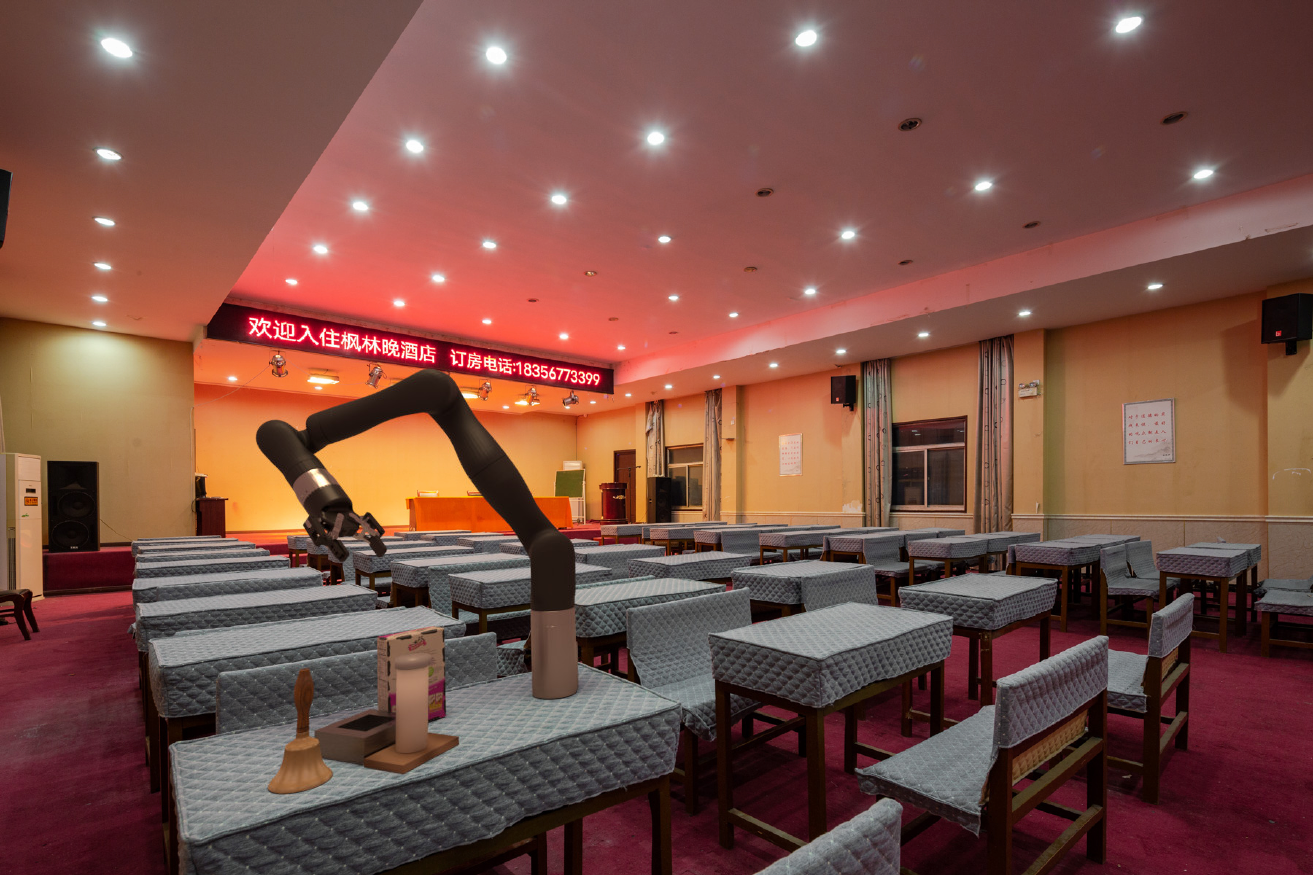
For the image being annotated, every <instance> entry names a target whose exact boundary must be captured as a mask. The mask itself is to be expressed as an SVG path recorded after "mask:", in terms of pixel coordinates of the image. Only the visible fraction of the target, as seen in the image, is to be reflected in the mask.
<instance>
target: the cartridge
mask: <svg viewBox="0 0 1313 875" xmlns="http://www.w3.org/2000/svg"><path fill="white" fill-rule="evenodd" d="M430 664H431V655H430V654H428V653H412V654H406V655H401V656H398V657H396V658H395V669H397V682H396V749H395V750H396V752H398V753H413V752H417V751H421V750H423V749H425V748H426V747H427V746H428V732H429V722H428V670H429V665H430Z"/></svg>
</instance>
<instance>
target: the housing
mask: <svg viewBox="0 0 1313 875" xmlns="http://www.w3.org/2000/svg"><path fill="white" fill-rule="evenodd" d="M313 735H314V737H313V738H316V739H318V740H319V744H320V752H321V756H322V759H325V760H326V759H327V760H332V761H338V762H342V763H350V764H355V765H360V766H364V759H365V758H367V757H369V756H371V755H373V754H375V753H377V752H379V751H381V750H384V749H386V748H388V747H390V746H392V745H394V744H396V712H389V711H382V710H378V709H373V708H369V709H367V710H364V711H361V712H359V713H357V714H354V715H351V716H348V717H346V718H343V719H341V720H338V721H336V722H333V723H331V724H328V725H325V726H324V727H320V728H317V729H315V730H314V734H313Z"/></svg>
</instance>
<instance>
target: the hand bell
mask: <svg viewBox="0 0 1313 875" xmlns="http://www.w3.org/2000/svg"><path fill="white" fill-rule="evenodd" d="M310 670H311V669H310V668H308V667H304V668H301V669H299V672H298V676H297V679H296V681H295V684H294V688H293V699H294V700H293V701H294V702H293V703H294V707H295V709H296V712H297V713H296V714H297V718H296V729H295V730H296V731H295V732H296V733H295V738H294V739H293V740H291V741H289V742H288V743H287V744H286V745H284V746H285V747H284V750H283V757H282V761H281V765H280V767H279V770H278V771H277V773H276V774H275V776H274V777H273V778H272V779H271V780H270V782H269V784H268V785H267V789H268V791H270V792H271V793H274V794H281V795H284V794H285V795H286V794H294V793H300V792H304V791H308V790H312V789H315V788H317V787H319V786H322V785H323V784H325V783H327V782H329V781H330V780H331V779H332V778H333V775H334V773H333V770H332V769H331V768H330V766H327V765H326V763H325V761H324V758H322V756H321V752H320V744H319V740H318V739H316V738H314V737H312V736H311V735H310V729H311V728H310V709H311V706H312V703H313V700H314V694H315V685H314V681H313V677H312V675H311V671H310Z"/></svg>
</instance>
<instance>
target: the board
mask: <svg viewBox="0 0 1313 875" xmlns="http://www.w3.org/2000/svg"><path fill="white" fill-rule="evenodd" d="M459 744H460V736H457V735H452V734H451V735H449V734H443V733H435V732H430V731H428V746H427V747H426V748H425V749H423V750H421V751H417V752H413V753H398V752H396V750H395V749H396V744H394V745H392V746H390V747H388V748H386V749H384V750H381V751H379V752H377V753H375V754H373V755H371V756H369V757H367V758H365V759H364V765H363V768H367V769H373V770H379V771H386V772H391V773H394V774H395V773H396V774H402V775H404V774H406V773H408V772H409V771H411V770H414V769H416V768H417V767H420V766H421V765H423V764H424V763H426V762H428V761H430V760H432V759H434V758H436V757H438V756H439V755H441V754H443V753H445V752H447V751H449V750H451V749H452V748H455V747H457V746H458V745H459Z"/></svg>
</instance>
